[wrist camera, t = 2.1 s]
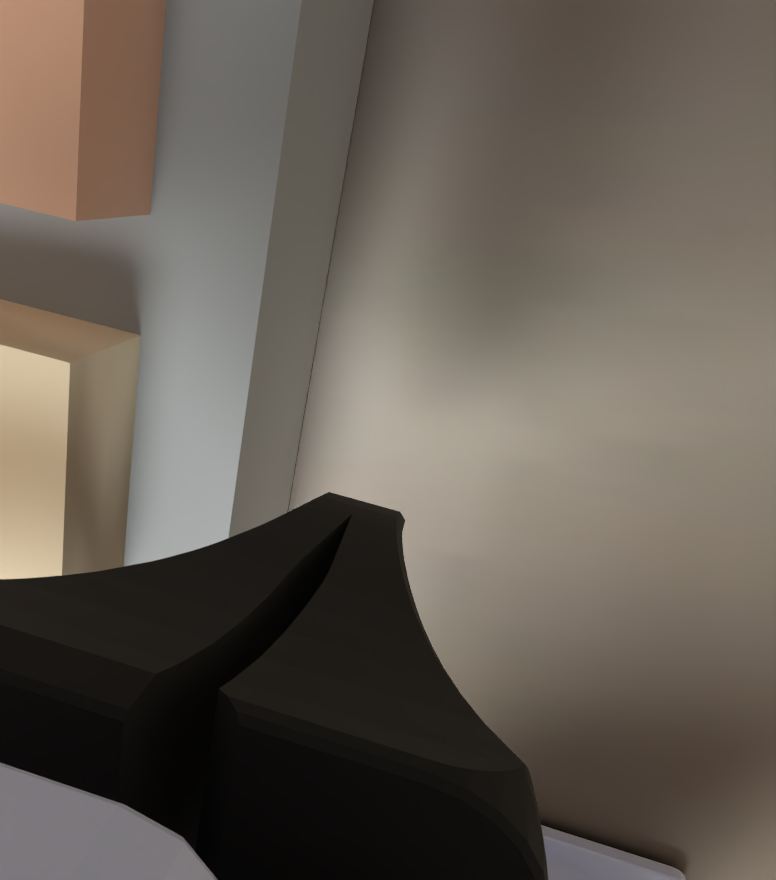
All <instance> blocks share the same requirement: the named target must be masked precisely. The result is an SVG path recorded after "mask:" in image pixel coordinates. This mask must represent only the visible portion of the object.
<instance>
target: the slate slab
mask: <svg viewBox="0 0 776 880" xmlns="http://www.w3.org/2000/svg"><path fill="white" fill-rule="evenodd" d="M373 3H374V0H166V11H165V24H164V37H163V50H162V64H161V77H160V90H159V103H158V117H157V130H156V143H155V156H154V170H153V183H152V196H151V209H150V214H149V215H138V216H127V217H116V218H105V219H94V220H83V221H73V220H69V219H65V218H60V217H56V216H52V215H48V214H44V213H40V212H36V211H32V210H27V209H23V208H19V207H15V206H11V205H7V204H3V203H0V299H2V300H6V301H10V302H14V303H18V304H21V305H25V306H29V307H33V308H37V309H41V310H45V311H49V312H52V313H56V314H60V315H64V316H68V317H72V318H76V319H79V320H83V321H87V322H91V323H95V324H99V325H103V326H107V327H110V328H114V329H118V330H122V331H126V332H130V333H134V334H138V335H141V341H140V355H139V368H138V381H137V394H136V408H135V421H134V434H133V447H132V461H131V474H130V487H129V500H128V513H127V527H126V540H125V553H124V566H129V565H134V564H140V563H145V562H151V561H155V560H160V559H164V558H168V557H171V556H175V555H179V554H182V553H186V552H190V551H193V550H196V549H199V548H203V547H206V546H209V545H212V544H214V543H217V542H220V541H222V540H225V539H227V538H230V537H232V536H235V535H237V534H240V533H242V532H245V531H247V530H250V529H252V528H255V527H257V526H260V525H262V524H264V523H267V522H269V521H271V520H273V519H275V518H277V517H279V516H281V515H283V514H285V513H287V512H288V506H289V501H290V495H291V489H292V483H293V477H294V471H295V465H296V459H297V453H298V447H299V441H300V435H301V429H302V423H303V418H304V412H305V406H306V400H307V394H308V388H309V382H310V376H311V370H312V364H313V358H314V352H315V346H316V341H317V335H318V329H319V323H320V317H321V311H322V305H323V299H324V293H325V287H326V281H327V275H328V269H329V263H330V258H331V252H332V246H333V240H334V234H335V228H336V222H337V216H338V210H339V204H340V198H341V192H342V186H343V180H344V175H345V169H346V163H347V157H348V151H349V145H350V139H351V133H352V127H353V121H354V115H355V109H356V103H357V98H358V92H359V86H360V80H361V74H362V68H363V62H364V56H365V50H366V44H367V38H368V32H369V26H370V20H371V15H372V9H373ZM124 566H123V567H124Z"/></svg>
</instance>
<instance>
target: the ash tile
mask: <svg viewBox="0 0 776 880" xmlns="http://www.w3.org/2000/svg"><path fill="white" fill-rule="evenodd" d="M140 341H141V335H138V334H134V333H130V332H126V331H122V330H118V329H114V328H110V327H107V326H103V325H99V324H95V323H91V322H87V321H83V320H79V319H76V318H72V317H68V316H64V315H60V314H56V313H52V312H49V311H45V310H41V309H37V308H33V307H29V306H25V305H21V304H18V303H14V302H10V301H6V300H2V299H0V579H22V578H37V577H50V576H62V575H71V574H79V573H88V572H96V571H102V570H108V569H113V568H118V567H123V566H124V553H125V540H126V527H127V513H128V500H129V487H130V474H131V461H132V447H133V434H134V421H135V408H136V394H137V381H138V368H139V355H140Z"/></svg>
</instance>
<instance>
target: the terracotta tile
mask: <svg viewBox="0 0 776 880" xmlns="http://www.w3.org/2000/svg"><path fill="white" fill-rule="evenodd" d="M165 11H166V0H0V203H3V204H7V205H11V206H15V207H19V208H23V209H27V210H32V211H36V212H40V213H44V214H48V215H52V216H56V217H60V218H65V219H69V220H73V221H83V220H94V219H105V218H116V217H127V216H138V215H149V214H150V209H151V196H152V183H153V170H154V156H155V143H156V130H157V117H158V103H159V90H160V77H161V64H162V50H163V37H164V24H165Z"/></svg>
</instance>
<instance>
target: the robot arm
mask: <svg viewBox="0 0 776 880" xmlns="http://www.w3.org/2000/svg"><path fill="white" fill-rule="evenodd" d="M404 522H405V519H404V518H403V516H402V514H401V513H400V512H399V511H395V510H391V509H388V508H384V507H381V506H377V505H373V504H370V503H366V502H363V501H359V500H355V499H352V498H348V497H344V496H341V495H337V494H334V493H330V492H329V493H326V494H324V495H322V496H320V497H318V498H316V499H314V500H312V501H310V502H308V503H306V504H304V505H302V506H300V507H298V508H296V509H294V510H292V511H290V512H288V513H285V514H283V515H281V516H279V517H277V518H275V519H273V520H271V521H269V522H267V523H264V524H262V525H260V526H257V527H255V528H252V529H250V530H247V531H245V532H242V533H240V534H237V535H235V536H232V537H230V538H227V539H225V540H222V541H220V542H217V543H214V544H212V545H209V546H206V547H203V548H199V549H196V550H193V551H190V552H186V553H182V554H179V555H175V556H171V557H168V558H164V559H160V560H155V561H151V562H145V563H140V564H134V565H129V566H124V567H118V568H113V569H108V570H102V571H96V572H88V573H79V574H71V575H62V576H50V577H37V578H22V579H0V880H686V878H685V875H684V874H683V873H682V872H681V871H680V870H678V869H676V868H674V867H671V866H668V865H665V864H662V863H659V862H656V861H653V860H649V859H646V858H643V857H640V856H637V855H634V854H631V853H627V852H624V851H621V850H618V849H615V848H612V847H609V846H605V845H602V844H599V843H596V842H593V841H590V840H587V839H584V838H580V837H577V836H574V835H571V834H568V833H565V832H562V831H558V830H555V829H552V828H549V827H546V826H543V825H541V822H540V817H539V811H538V807H537V802H536V798H535V794H534V789H533V785H532V781H531V777H530V774H529V770H528V768H527V767H526V765H525V764H524V763H523V762H522V761H521V760H520V759H519V758H518V757H517V756H516V755H515V754H514V753H513V752H512V751H511V750H510V749H509V748H508V747H507V746H506V745H505V744H504V743H503V742H502V741H501V740H500V739H499V738H498V737H497V736H496V735H495V734H494V733H493V732H492V731H491V730H490V729H489V728H488V727H487V726H486V724H485V723H484V722H483V721H482V720H481V719H480V718H479V716H478V715H477V714H476V713H475V711H474V710H473V709H472V708H471V706H470V705H469V704H468V703H467V701H466V700H465V699H464V698H463V696H462V695H461V694H460V692H459V691H458V689H457V688H456V686H455V685H454V683H453V682H452V680H451V678H450V677H449V675H448V674H447V672H446V671H445V669H444V668H443V666H442V664H441V662H440V660H439V658H438V657H437V655H436V653H435V651H434V649H433V647H432V645H431V643H430V641H429V638H428V636H427V634H426V632H425V630H424V627H423V625H422V622H421V620H420V617H419V614H418V611H417V609H416V605H415V602H414V599H413V596H412V593H411V589H410V585H409V581H408V577H407V572H406V567H405V562H404V555H403V546H402V531H403V526H404Z"/></svg>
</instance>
